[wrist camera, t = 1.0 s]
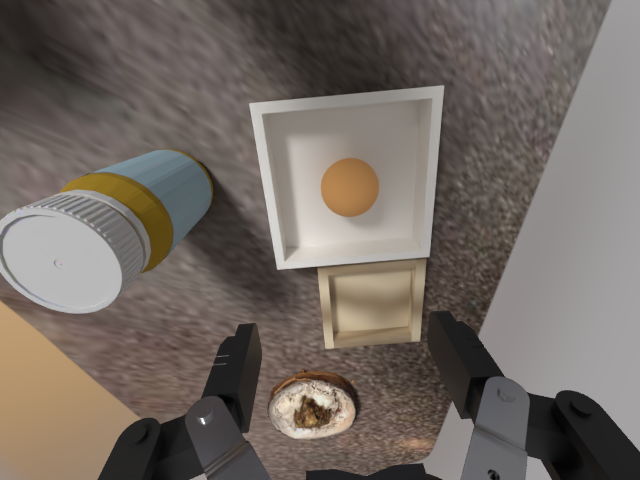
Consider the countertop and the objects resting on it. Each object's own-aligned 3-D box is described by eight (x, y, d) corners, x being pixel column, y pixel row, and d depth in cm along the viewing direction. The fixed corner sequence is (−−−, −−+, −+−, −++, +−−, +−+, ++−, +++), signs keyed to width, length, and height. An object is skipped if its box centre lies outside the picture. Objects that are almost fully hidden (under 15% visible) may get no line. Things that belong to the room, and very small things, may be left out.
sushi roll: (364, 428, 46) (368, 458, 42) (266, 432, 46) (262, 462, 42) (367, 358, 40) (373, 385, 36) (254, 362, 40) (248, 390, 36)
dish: (256, 102, 26) (249, 103, 23) (427, 86, 25) (444, 85, 22) (280, 252, 32) (277, 269, 29) (417, 240, 32) (429, 256, 29)
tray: (316, 256, 32) (317, 267, 30) (419, 248, 32) (426, 258, 30) (324, 334, 37) (325, 348, 35) (413, 327, 37) (419, 341, 35)
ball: (317, 155, 27) (319, 167, 23) (372, 150, 27) (385, 161, 23) (322, 208, 29) (324, 228, 25) (373, 203, 29) (384, 223, 25)
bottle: (220, 159, 28) (132, 220, 14) (210, 227, 31) (130, 331, 17) (141, 138, 27) (-34, 181, 13) (138, 209, 30) (-7, 305, 16)
